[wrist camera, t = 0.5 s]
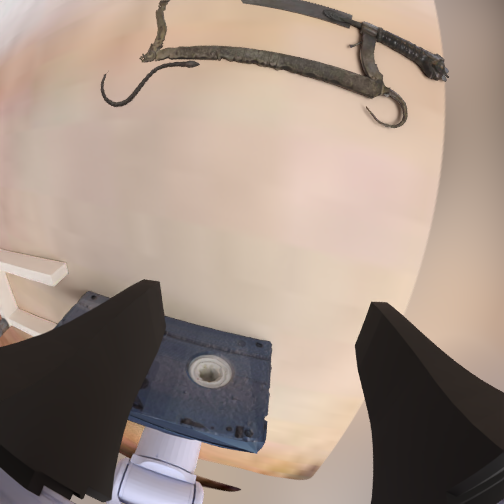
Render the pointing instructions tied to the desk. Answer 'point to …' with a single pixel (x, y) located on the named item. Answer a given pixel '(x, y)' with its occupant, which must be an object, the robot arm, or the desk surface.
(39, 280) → the rail dock
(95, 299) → the vhs cassette tape
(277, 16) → the desk surface
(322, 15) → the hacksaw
